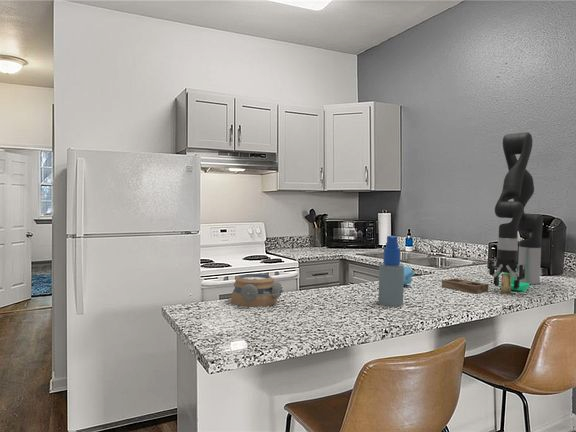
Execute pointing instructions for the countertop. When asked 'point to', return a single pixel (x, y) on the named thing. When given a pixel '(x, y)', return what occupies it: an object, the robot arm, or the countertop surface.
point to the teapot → (407, 275)
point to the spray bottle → (391, 275)
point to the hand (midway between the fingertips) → (506, 287)
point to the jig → (465, 285)
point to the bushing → (506, 283)
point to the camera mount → (521, 285)
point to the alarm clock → (255, 290)
